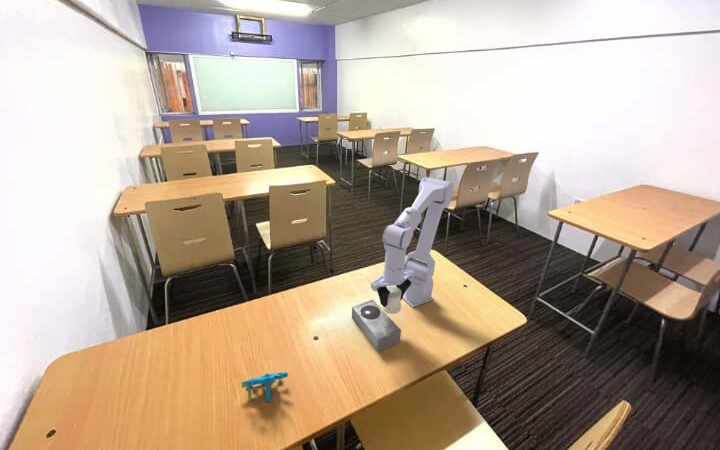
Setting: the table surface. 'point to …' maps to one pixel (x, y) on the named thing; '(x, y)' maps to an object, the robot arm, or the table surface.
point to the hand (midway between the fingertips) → (391, 301)
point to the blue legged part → (262, 380)
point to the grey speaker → (376, 325)
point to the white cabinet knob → (393, 300)
